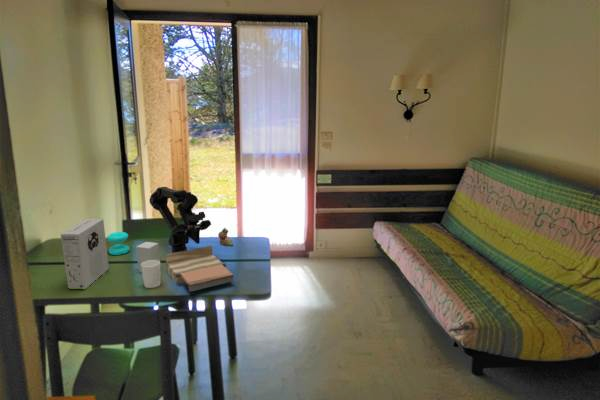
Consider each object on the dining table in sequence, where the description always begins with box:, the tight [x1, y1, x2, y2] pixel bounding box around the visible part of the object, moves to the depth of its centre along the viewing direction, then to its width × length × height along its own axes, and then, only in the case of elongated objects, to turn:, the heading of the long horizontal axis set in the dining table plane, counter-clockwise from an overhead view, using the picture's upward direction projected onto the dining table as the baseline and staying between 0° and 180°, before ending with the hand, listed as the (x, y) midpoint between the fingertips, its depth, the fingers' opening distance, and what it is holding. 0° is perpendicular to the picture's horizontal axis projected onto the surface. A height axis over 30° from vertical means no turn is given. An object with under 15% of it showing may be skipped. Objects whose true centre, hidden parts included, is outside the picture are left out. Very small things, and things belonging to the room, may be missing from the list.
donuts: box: [106, 231, 131, 256], centre depth 222 cm, size 10×10×10 cm
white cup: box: [141, 260, 162, 289], centre depth 185 cm, size 8×8×10 cm
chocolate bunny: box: [217, 227, 234, 247], centre depth 234 cm, size 6×8×10 cm
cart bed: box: [165, 245, 227, 285], centre depth 197 cm, size 18×23×8 cm
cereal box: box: [60, 218, 110, 289], centre depth 189 cm, size 22×8×25 cm, turn 178°
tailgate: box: [180, 265, 234, 292], centre depth 186 cm, size 3×19×13 cm
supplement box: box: [135, 241, 162, 273], centre depth 200 cm, size 7×7×13 cm
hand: (198, 243), depth 202 cm, fingers closed
